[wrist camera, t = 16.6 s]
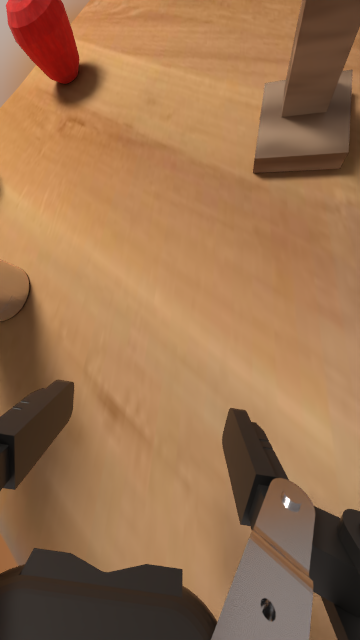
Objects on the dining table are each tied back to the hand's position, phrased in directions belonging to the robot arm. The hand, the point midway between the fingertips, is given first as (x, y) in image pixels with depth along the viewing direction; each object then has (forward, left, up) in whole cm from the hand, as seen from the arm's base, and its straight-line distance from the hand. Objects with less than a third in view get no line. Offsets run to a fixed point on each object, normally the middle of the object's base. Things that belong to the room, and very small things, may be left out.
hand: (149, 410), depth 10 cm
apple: (-59, +24, -14) cm, 65 cm away
